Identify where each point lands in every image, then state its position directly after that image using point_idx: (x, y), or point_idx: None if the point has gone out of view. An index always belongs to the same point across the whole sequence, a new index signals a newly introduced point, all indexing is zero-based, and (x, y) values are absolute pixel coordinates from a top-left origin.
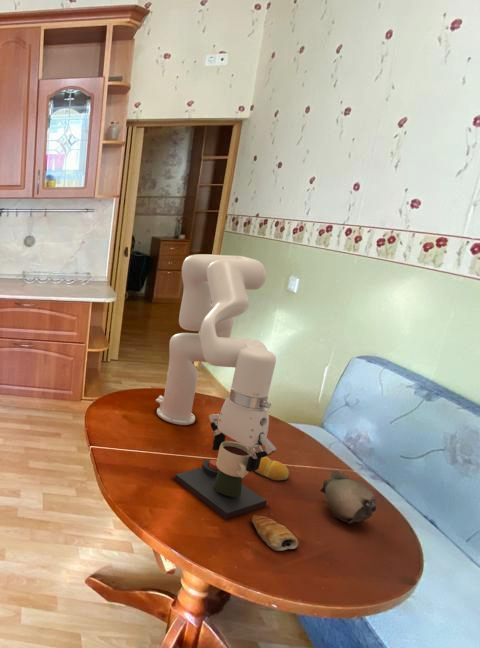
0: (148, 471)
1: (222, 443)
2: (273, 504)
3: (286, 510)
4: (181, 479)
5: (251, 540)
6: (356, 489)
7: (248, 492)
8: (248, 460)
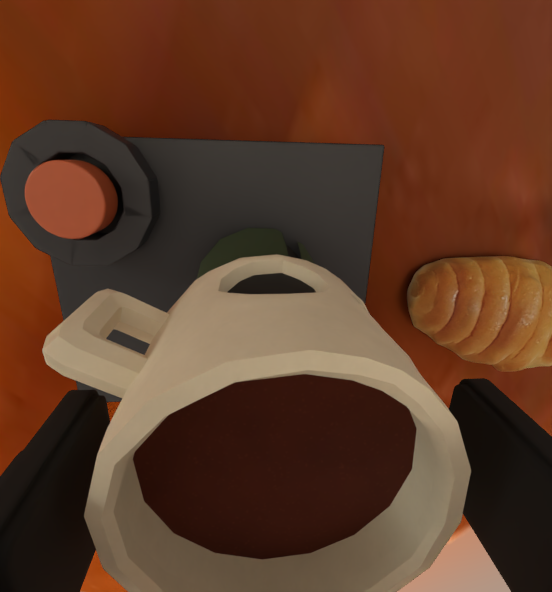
0: (15, 439)
1: (134, 585)
2: (380, 83)
3: (435, 62)
4: (119, 399)
5: (444, 377)
6: None
7: (303, 180)
8: (505, 575)
